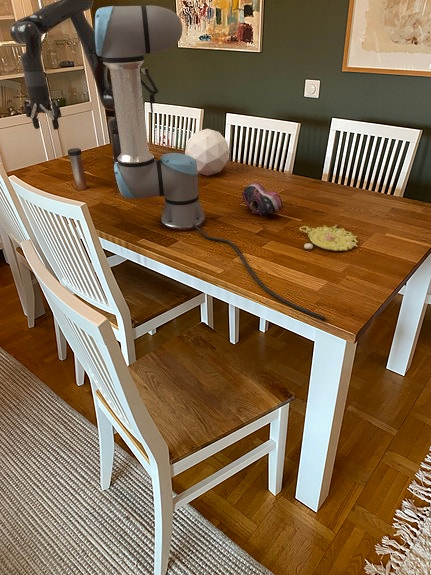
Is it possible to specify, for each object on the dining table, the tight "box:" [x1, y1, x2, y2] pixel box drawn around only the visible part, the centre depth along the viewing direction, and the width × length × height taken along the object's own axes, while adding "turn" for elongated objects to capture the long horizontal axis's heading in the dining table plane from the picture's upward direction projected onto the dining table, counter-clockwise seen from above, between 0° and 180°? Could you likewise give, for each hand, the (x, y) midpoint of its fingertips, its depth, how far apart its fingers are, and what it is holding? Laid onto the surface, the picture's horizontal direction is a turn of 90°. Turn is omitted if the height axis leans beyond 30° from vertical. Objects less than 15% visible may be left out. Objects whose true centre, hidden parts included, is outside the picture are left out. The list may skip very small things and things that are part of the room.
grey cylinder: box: [69, 154, 88, 191], centre depth 184 cm, size 4×4×16 cm
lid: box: [67, 147, 82, 157], centre depth 180 cm, size 5×5×2 cm
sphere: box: [184, 128, 231, 177], centre depth 195 cm, size 19×20×20 cm
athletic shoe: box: [238, 182, 284, 217], centre depth 160 cm, size 11×22×12 cm
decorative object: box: [299, 224, 359, 252], centre depth 141 cm, size 21×2×20 cm
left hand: (46, 128), depth 174 cm, fingers open, 8 cm apart
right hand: (135, 113), depth 181 cm, fingers open, 13 cm apart
